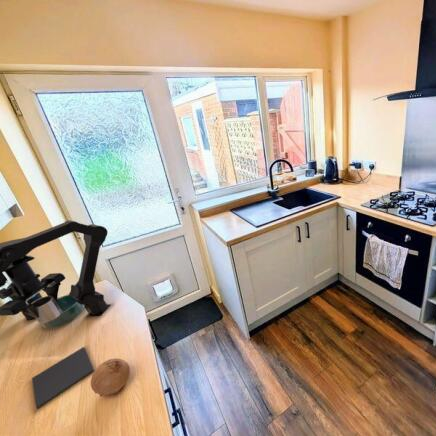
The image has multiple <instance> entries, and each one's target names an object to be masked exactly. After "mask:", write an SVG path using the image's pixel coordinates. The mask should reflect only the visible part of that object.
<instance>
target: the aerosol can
mask: <svg viewBox="0 0 436 436" xmlns="http://www.w3.org/2000/svg"><path fill="white" fill-rule="evenodd" d="M10 283H12V281H11V280H10ZM9 287H10V284H9V285H7V287H6V289H7V288H9ZM21 297H23V296H22V295H20V296H15V295H14V296H12V297H11V298H10V300H18V299H20V298H21ZM42 297H43V295H42V294H41V293H40V292H39V293H37V294H36V295H34V296H33V297H32V298H30V299H29V300H27V302H28V304H31V303H33V302H34V301H36V300H38V299H40V298H42ZM21 314H22V315H23V316H24V318H25V320H26V321H28V322H30V321H34V320H35V321H36V320H37V319H36V318H34V317H32V316H30V315H28V314H26V313H24V312H21Z"/></svg>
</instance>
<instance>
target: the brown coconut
mask: <svg viewBox="0 0 436 436" xmlns="http://www.w3.org/2000/svg"><path fill="white" fill-rule="evenodd" d="M130 374H131V367H130V364H129V363H128V362H127V361H126V360H125V359H121V358H117V357H116V358H110V359H107V360H105V361H103V362H102V363H100V364H99V365H98V366H97V367H96V368H95V370H94V372H92V375H91V379H90V387H91V390H92V391H93V392H94V393H95V394H98V395H99V396H100V397H103V396H107V395H109V396H110V395H113V394H117V393H119V392H120V391H121V389H122V388H124V386H125V385H126V383H127V382H128V380H129V377H130Z"/></svg>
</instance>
